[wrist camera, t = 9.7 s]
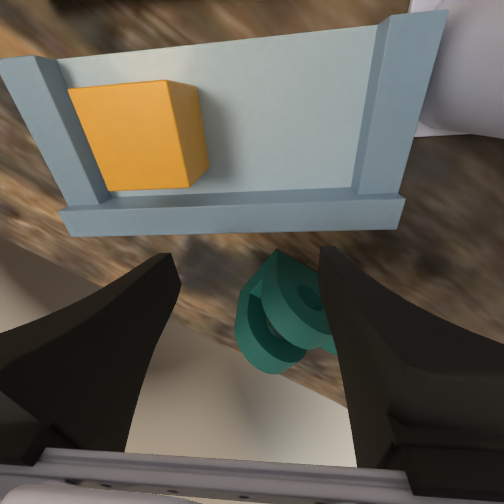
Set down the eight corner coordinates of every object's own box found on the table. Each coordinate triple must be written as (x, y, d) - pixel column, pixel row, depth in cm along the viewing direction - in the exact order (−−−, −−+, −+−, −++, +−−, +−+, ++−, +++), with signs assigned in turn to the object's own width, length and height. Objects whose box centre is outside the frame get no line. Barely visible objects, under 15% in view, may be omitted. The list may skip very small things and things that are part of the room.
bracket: (240, 291, 25) (229, 356, 19) (276, 248, 22) (277, 310, 16) (359, 353, 30) (384, 424, 23) (404, 325, 26) (448, 399, 20)
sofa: (401, 34, 14) (466, -1, 9) (366, 198, 19) (397, 229, 14) (58, 69, 16) (-30, 55, 11) (115, 208, 21) (71, 237, 16)
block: (197, 85, 13) (166, 79, 9) (210, 167, 16) (190, 188, 12) (123, 92, 14) (65, 88, 10) (146, 171, 16) (108, 192, 12)
